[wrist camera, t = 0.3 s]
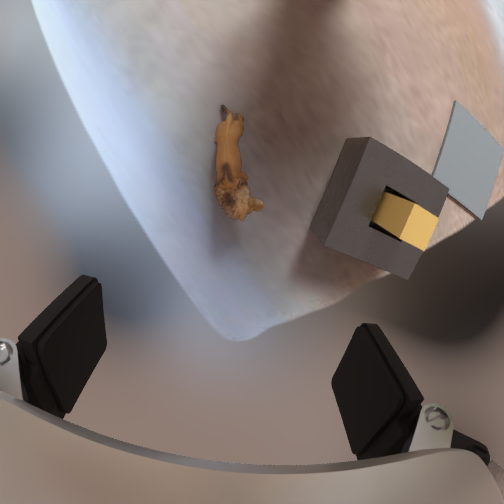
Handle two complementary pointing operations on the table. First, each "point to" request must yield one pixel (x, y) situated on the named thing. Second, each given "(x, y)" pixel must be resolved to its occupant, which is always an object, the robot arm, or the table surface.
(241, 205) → the brown animal figure
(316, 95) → the table surface
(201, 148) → the table surface
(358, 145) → the hole block
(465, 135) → the mat
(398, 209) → the peg
